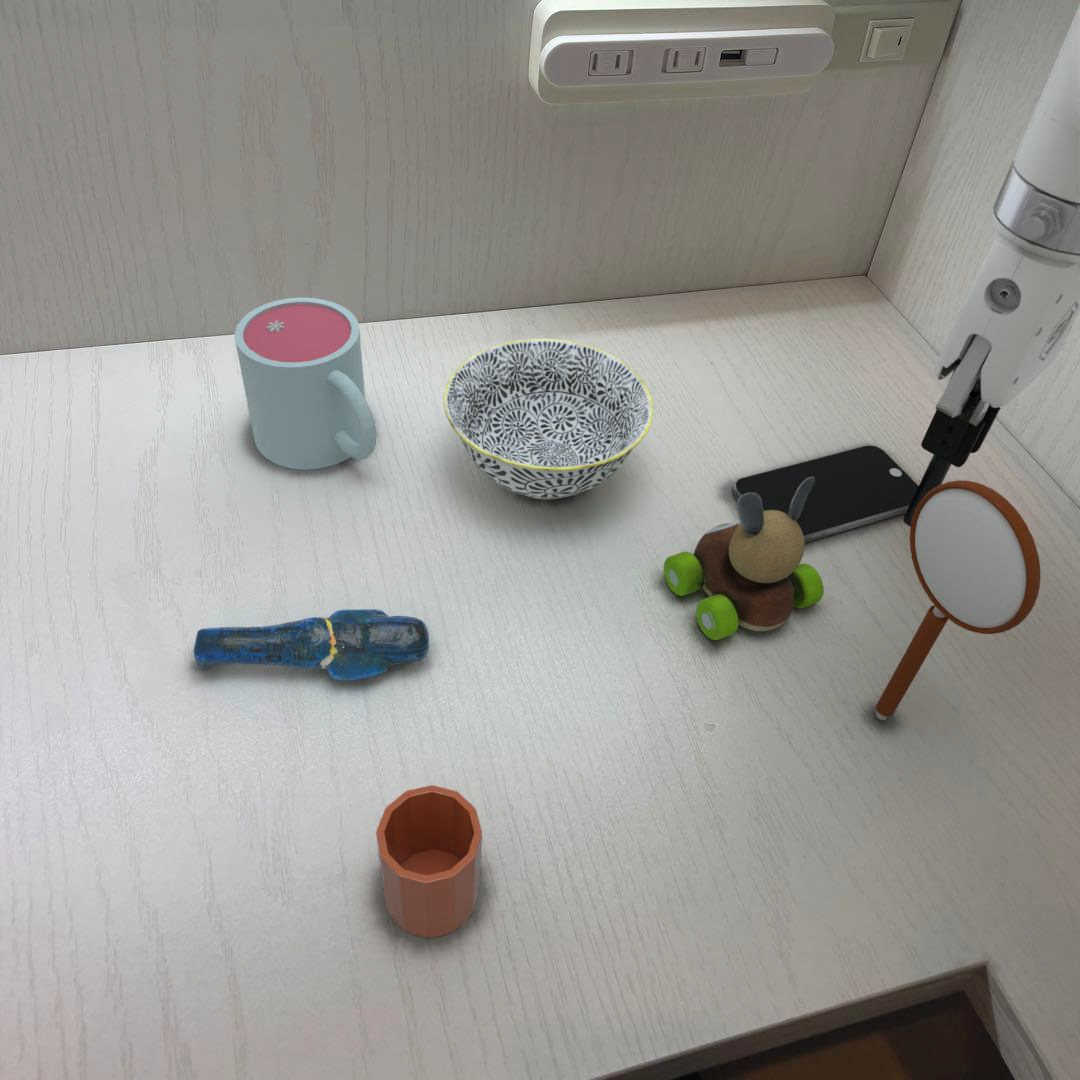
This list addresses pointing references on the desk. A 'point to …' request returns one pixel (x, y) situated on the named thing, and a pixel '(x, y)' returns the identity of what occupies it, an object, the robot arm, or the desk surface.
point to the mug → (305, 383)
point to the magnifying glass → (966, 571)
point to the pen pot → (430, 860)
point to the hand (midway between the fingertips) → (949, 448)
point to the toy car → (749, 569)
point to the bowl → (547, 415)
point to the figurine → (320, 643)
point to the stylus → (930, 480)
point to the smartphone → (836, 490)
